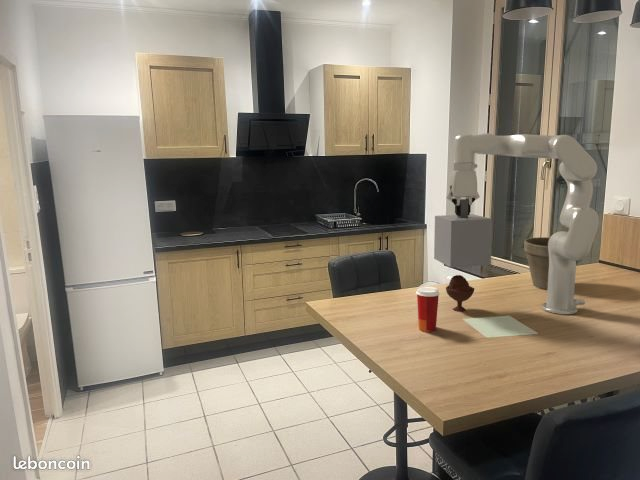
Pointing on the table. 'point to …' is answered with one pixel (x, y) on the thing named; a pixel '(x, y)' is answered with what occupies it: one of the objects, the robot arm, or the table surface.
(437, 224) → the grey knobbed cube
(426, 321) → the coffee cup
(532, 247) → the plant pot
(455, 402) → the table surface
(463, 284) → the ice cream bowl
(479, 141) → the robot arm
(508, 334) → the mat
